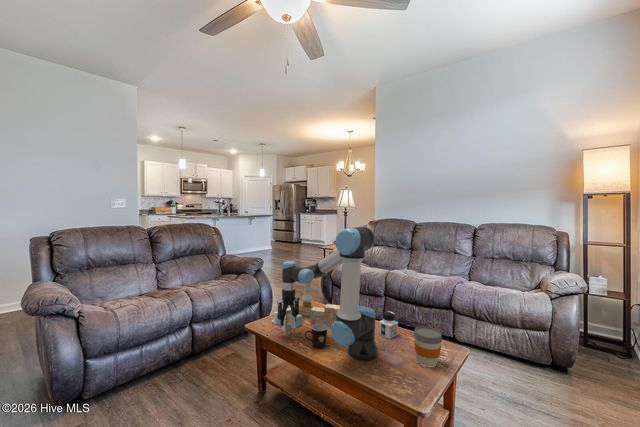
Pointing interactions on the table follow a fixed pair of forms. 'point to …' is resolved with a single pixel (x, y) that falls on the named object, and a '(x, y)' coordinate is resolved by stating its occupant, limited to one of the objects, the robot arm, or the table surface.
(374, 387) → the table surface
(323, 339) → the coffee mug
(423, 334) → the reusable coffee cup
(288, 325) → the dowel
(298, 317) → the block
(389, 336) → the container
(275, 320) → the wall
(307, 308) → the candle holder
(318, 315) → the stack of blocks
